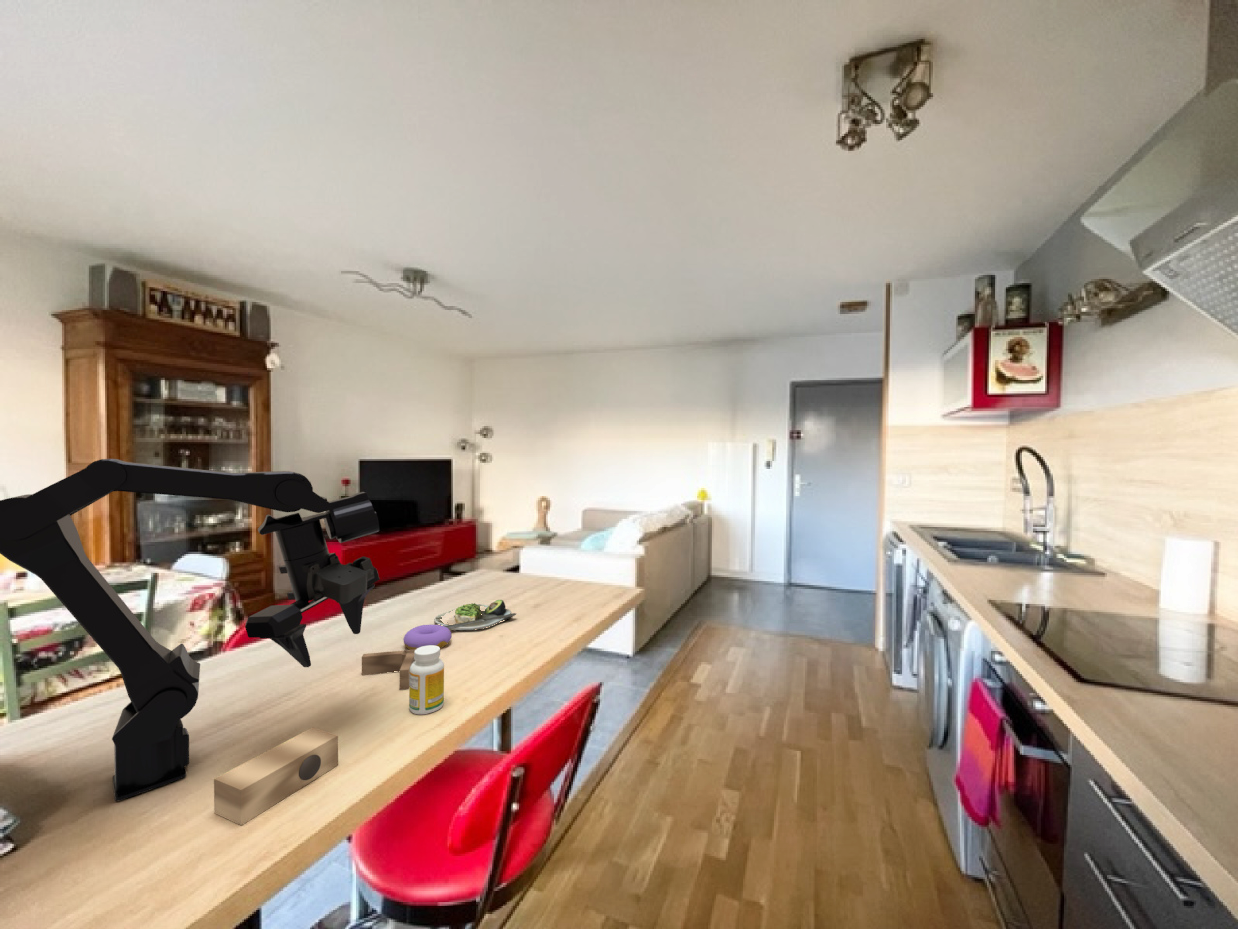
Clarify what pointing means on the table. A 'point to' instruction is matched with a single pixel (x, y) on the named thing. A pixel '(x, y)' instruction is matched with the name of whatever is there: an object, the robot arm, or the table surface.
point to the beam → (274, 775)
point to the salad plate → (477, 616)
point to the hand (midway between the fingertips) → (333, 649)
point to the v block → (389, 664)
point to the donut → (427, 636)
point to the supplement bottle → (426, 681)
